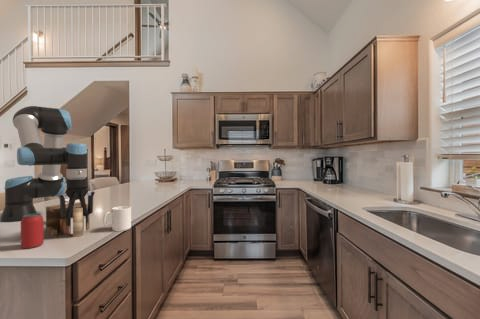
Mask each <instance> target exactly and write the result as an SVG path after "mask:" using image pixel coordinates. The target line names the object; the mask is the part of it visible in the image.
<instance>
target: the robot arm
mask: <svg viewBox="0 0 480 319" xmlns="http://www.w3.org/2000/svg"><path fill="white" fill-rule="evenodd" d="M12 124H13V127H14V128H15V129H17V130H16V131H17V133H18V138H19V142H20V147H18V148H17V150H16V160H17V161H16V162H17V164H18V165H19V166H30V167H31V166H41V172H40V173H39V174H38V176H37V178H34V177H33V176H32V175H26V176H20V177H13V178H9V179H7V180H5V181H4V188H3V189H4V208H3V211H2V213H1V214H0V222H3V223H5V222H8V223H9V222H21V220H22V218H23V216H24V215H28V214H38V211H37V210H36V208H35V205H34V199H39V198H40V199H41V198H42V199H43V198H51V197H52V198H54V197H58V199H59V205H60V213H61V217H62V218H66V225H67V226H69V234H70V235H72V234H73V218H71V215H72V210H73V206H74V203H75V200H78V199H79V201H80V203H81V207H83V232H86V231H87V230H86V223H87V222H88V215H89V216H90V215H91V214H93V213H94V212H93V211H94V210H93V209H94V196H95V193H96V192H95V191H92V190H89V189H88V179H87V177H88V148H87V147H88V146H87V145H86V143H82V142H80V143H79V142H78V143H77V142H73V143H72V142H68V143H67V144H65V145H66V147H65V148H63V144H64V136H66V135H67V134H68V131H71V130H72V118H71V114H70V112H69V111H68V110H66V109H63V108H55V107H45V106H39V105H37V106H36V105H30V106H26V107H25V106H24V107H22V108H21V109H18V110H17V111H15V113H14V114H13V116H12ZM39 129H40V131H41V133H42V134H44V136H43V137H44V139H43V140H42V137H41V134H40V131H39ZM62 165H63V166H64V165H66V171H65V172H66V176H65V177H64V176H63V174H62V172H61V166H62ZM86 196H87V203H86V198H85V197H86ZM67 198H68V199H69V204H68V209H67V213H66V206H65V199H67ZM86 204H88V211H87V207H86Z"/></svg>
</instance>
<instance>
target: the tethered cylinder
mask: <svg viewBox="0 0 480 319" xmlns="http://www.w3.org/2000/svg"><path fill="white" fill-rule="evenodd" d="M71 218H73V234H71V238H77V237H82V236H83V235H84V231H83V207H76V208H73V210H72V215H71ZM59 232H60V233H61V234H63V235H68V234H70V233H69V226H67V225H66V218H63V219H60V230H59Z"/></svg>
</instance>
